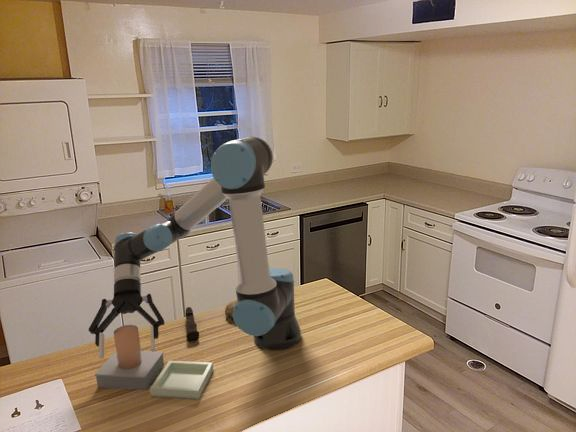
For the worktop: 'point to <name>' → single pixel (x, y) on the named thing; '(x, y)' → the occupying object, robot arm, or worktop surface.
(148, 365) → the grey square plinth
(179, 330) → the worktop surface
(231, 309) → the bread roll
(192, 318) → the hand tool
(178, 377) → the tray
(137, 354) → the terracotta domed cylinder
